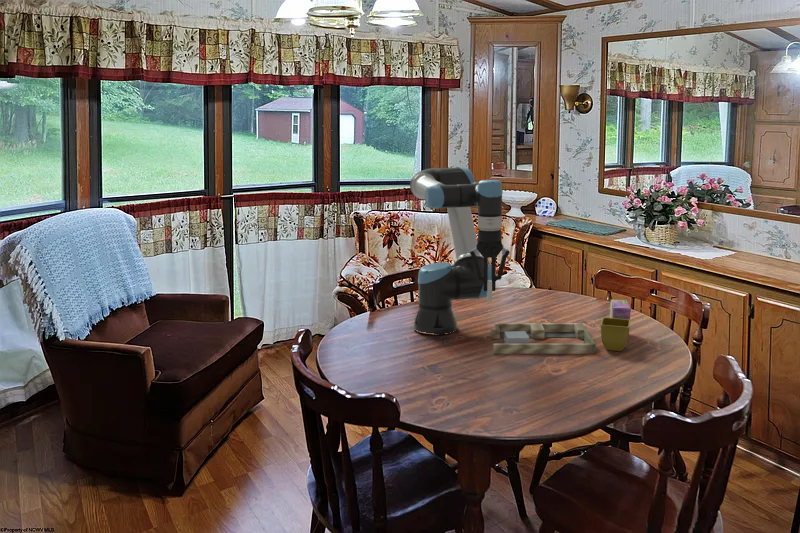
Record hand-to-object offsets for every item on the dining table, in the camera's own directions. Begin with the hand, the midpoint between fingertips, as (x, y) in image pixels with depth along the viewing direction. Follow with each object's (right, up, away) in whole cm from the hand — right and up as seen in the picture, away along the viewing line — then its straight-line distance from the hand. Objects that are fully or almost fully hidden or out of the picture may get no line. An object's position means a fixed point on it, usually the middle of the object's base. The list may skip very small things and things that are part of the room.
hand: (489, 300), depth 241 cm
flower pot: (+40, -16, -2) cm, 43 cm away
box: (+45, -13, +9) cm, 48 cm away
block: (+9, -15, +3) cm, 18 cm away
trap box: (+17, -14, +6) cm, 23 cm away
